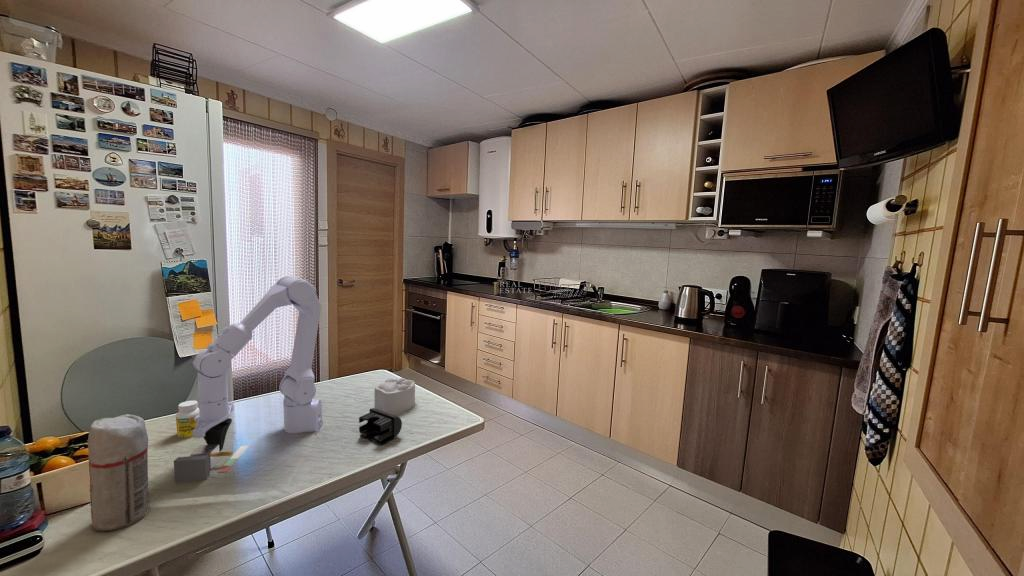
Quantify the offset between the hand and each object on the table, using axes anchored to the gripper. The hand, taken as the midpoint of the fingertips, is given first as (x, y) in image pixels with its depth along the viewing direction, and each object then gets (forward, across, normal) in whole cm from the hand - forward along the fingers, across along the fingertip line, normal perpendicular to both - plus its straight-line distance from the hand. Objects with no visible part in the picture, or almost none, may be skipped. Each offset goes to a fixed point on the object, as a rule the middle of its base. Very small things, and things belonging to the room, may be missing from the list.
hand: (216, 450), depth 96 cm
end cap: (+2, -6, +38) cm, 39 cm away
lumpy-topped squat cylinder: (+2, -26, +41) cm, 49 cm away
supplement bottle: (+2, -12, -12) cm, 17 cm away
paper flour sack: (+2, +20, -7) cm, 21 cm away
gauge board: (+2, +3, 0) cm, 3 cm away
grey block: (+1, +5, +2) cm, 5 cm away
